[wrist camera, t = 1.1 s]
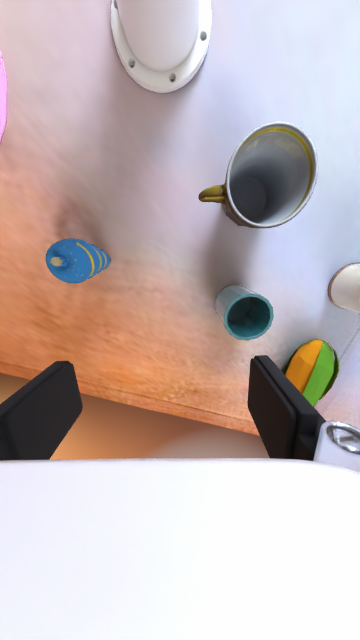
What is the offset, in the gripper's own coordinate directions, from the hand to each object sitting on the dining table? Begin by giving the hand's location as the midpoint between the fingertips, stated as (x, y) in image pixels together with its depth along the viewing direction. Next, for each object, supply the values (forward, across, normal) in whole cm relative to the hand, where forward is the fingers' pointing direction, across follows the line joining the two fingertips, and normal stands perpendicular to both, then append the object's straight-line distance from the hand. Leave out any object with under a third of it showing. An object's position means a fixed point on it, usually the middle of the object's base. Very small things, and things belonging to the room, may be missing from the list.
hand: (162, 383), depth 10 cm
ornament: (+27, +12, -7) cm, 30 cm away
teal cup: (+27, -10, +2) cm, 29 cm away
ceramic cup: (+27, -10, -14) cm, 32 cm away
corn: (+27, -23, +18) cm, 40 cm away
